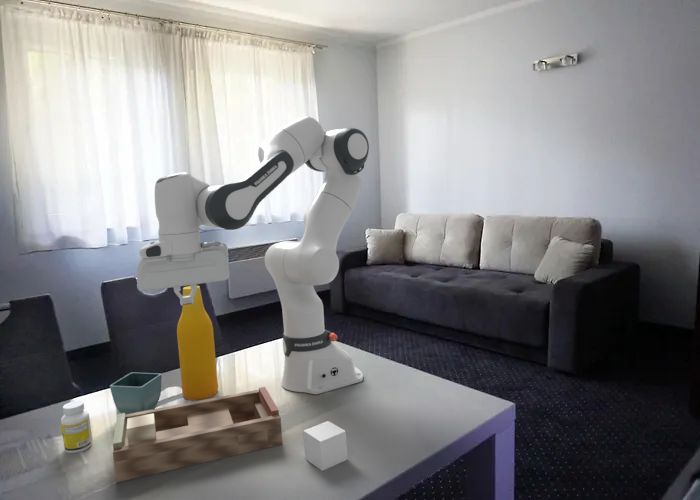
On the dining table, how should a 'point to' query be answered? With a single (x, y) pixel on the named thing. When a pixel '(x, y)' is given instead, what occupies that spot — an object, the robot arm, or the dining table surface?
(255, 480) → the dining table surface
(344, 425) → the dining table surface
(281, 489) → the dining table surface
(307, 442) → the white cube
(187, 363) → the beer bottle
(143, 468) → the tray
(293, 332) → the robot arm
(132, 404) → the flower pot
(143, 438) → the ash block
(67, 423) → the supplement bottle
